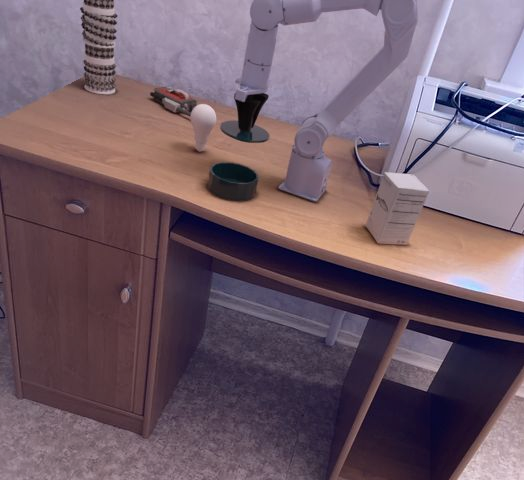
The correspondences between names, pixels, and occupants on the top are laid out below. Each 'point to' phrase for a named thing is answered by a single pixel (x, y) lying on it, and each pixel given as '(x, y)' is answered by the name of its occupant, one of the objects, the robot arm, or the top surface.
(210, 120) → the lightbulb
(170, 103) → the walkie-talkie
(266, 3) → the robot arm
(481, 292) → the top surface
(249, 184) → the dark bowl
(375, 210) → the white packaging box
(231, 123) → the pan lid
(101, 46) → the decorative candle
